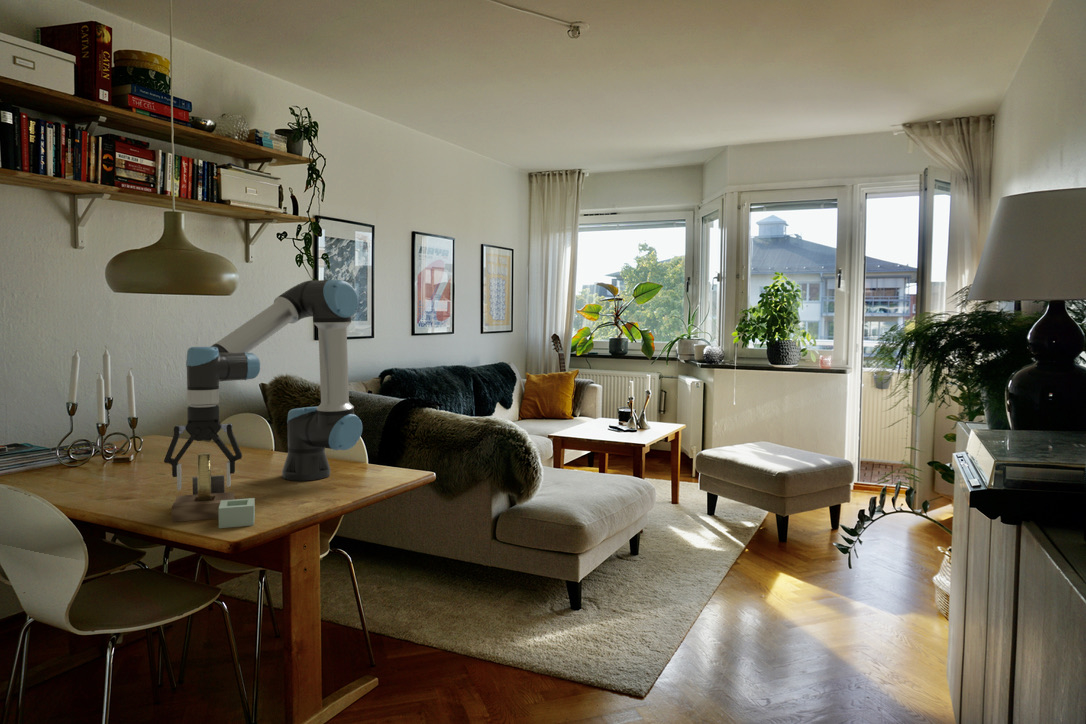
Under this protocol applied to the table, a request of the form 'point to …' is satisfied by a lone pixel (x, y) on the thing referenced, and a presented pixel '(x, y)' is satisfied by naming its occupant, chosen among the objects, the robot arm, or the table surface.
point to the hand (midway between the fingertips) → (204, 487)
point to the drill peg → (204, 476)
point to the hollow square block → (236, 512)
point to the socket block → (198, 507)
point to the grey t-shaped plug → (216, 484)
